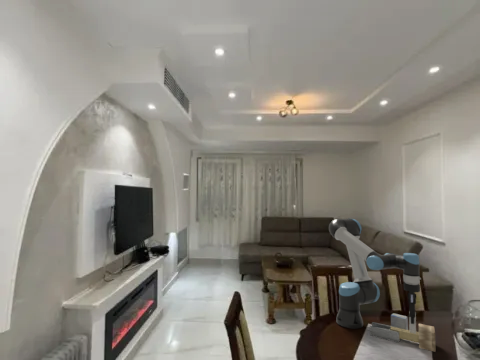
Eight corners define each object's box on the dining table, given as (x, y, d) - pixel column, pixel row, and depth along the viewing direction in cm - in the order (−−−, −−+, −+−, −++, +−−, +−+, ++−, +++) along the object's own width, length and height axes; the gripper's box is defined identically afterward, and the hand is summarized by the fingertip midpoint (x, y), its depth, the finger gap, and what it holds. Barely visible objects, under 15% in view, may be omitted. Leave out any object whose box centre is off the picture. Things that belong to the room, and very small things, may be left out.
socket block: (419, 347, 149) (418, 329, 150) (418, 340, 157) (418, 323, 157) (435, 351, 145) (435, 333, 146) (434, 344, 153) (434, 326, 154)
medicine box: (408, 332, 167) (407, 316, 168) (406, 334, 164) (405, 318, 164) (393, 327, 172) (392, 312, 173) (390, 330, 169) (390, 314, 170)
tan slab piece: (390, 336, 158) (389, 309, 159) (390, 333, 161) (390, 307, 162) (430, 345, 149) (429, 317, 150) (429, 342, 152) (429, 314, 153)
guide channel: (370, 335, 162) (370, 326, 162) (372, 330, 168) (371, 322, 168) (399, 342, 155) (398, 332, 155) (399, 337, 160) (399, 327, 161)
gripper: (420, 287, 148) (421, 335, 146) (419, 280, 161) (420, 324, 160) (403, 285, 151) (404, 332, 150) (404, 278, 165) (405, 321, 164)
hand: (412, 328), depth 155 cm, fingers closed on tan slab piece, 3 cm apart
